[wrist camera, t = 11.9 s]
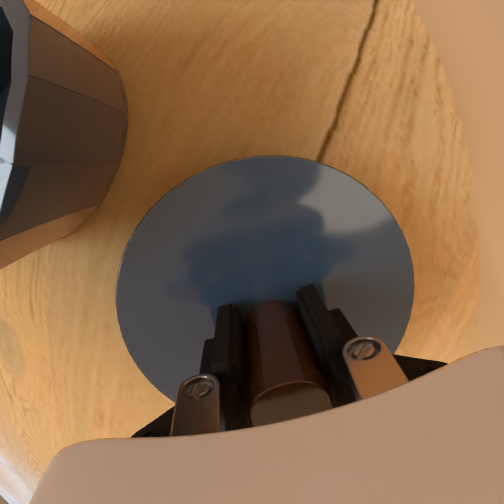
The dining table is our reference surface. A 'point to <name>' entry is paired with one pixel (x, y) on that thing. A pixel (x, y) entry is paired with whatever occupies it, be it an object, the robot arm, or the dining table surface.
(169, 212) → the lid
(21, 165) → the canister
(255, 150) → the dining table surface
